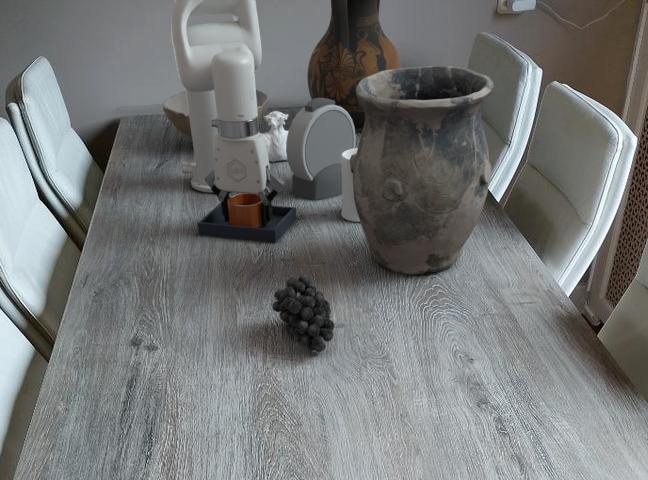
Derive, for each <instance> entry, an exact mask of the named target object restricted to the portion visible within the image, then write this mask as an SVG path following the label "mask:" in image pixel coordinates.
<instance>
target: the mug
mask: <svg viewBox="0 0 648 480" xmlns="http://www.w3.org/2000/svg"><path fill="white" fill-rule="evenodd" d="M357 150H358V147H355V148H354V149H349V150H346V151H344V152H343V153H342V154H341V163H342V193H341V202H342V203H341V204H342V205H341V212H340V215H341V217H342V218H343V219H344V220H346V221H349V222H353V223H361V222H360V219H359V216H358V213H357V209H356V205H355V200H354V192H353V173H352V172H351V167H350V158H351V155H354V154H356V153H357Z"/></svg>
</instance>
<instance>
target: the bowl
mask: <svg viewBox="0 0 648 480" xmlns="http://www.w3.org/2000/svg"><path fill="white" fill-rule="evenodd" d="M256 98H257V110H258V121H259V125H260V124H261V122H262V121H263V119H264V116H265V114H266V112H267V109H268V103H269V102H268V101H269V98H268V95H267V93H265V92H263V91H261V90H258V89H256ZM162 110H163V112H164V114H165V116H166V117H167V119H168V120H169V121H170V122H171V124H172V125H173V126H174V127H175V128H176V129H177V130H179V131H180V132H181V133H182V134H184V135H185V136H186V137H187V138H190V139H191V140H192V134H191V126H190V119H189V112H188V105H187V98H186V92H185V90H184V91H180V92H178V93H175V94H174V95H172V96H170V97H168V98H167V99H165V100H164V101H163V103H162Z"/></svg>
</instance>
